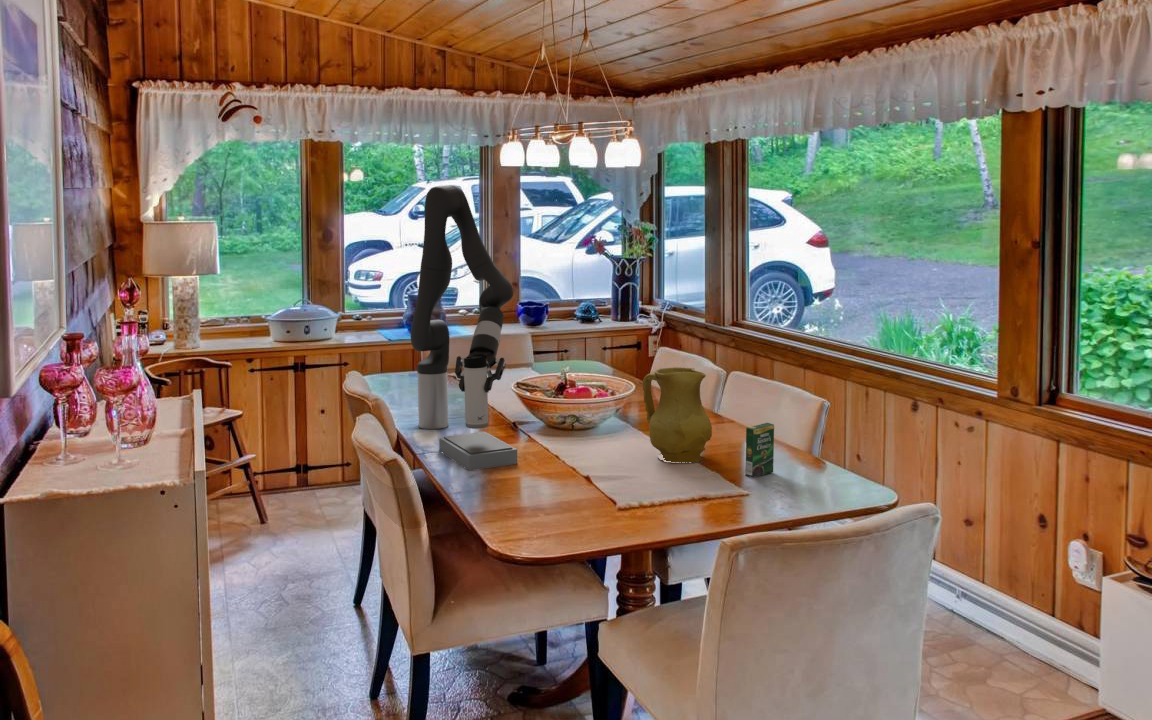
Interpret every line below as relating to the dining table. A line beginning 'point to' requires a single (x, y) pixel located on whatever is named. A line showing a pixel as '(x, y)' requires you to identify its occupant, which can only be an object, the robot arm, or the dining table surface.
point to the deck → (478, 450)
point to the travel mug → (475, 391)
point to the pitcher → (677, 414)
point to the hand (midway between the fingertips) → (474, 390)
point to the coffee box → (759, 449)
